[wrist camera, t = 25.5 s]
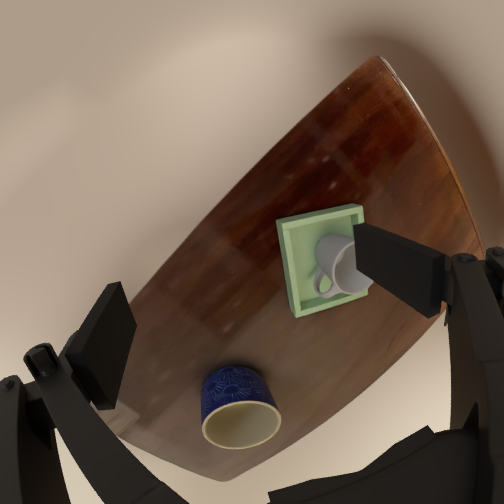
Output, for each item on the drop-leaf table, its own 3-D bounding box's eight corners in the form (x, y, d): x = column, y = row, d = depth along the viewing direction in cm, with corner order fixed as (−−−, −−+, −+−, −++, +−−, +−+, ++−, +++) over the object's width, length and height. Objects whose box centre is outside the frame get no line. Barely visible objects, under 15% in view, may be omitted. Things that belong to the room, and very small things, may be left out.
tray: (275, 219, 43) (281, 223, 40) (352, 203, 44) (362, 205, 42) (290, 309, 47) (296, 318, 44) (359, 288, 49) (368, 294, 46)
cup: (359, 246, 46) (389, 262, 38) (321, 293, 47) (344, 317, 39) (330, 217, 44) (358, 228, 36) (288, 267, 45) (308, 289, 37)
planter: (278, 383, 51) (295, 424, 41) (227, 415, 52) (235, 457, 41) (238, 345, 47) (251, 388, 37) (183, 382, 48) (185, 427, 37)
